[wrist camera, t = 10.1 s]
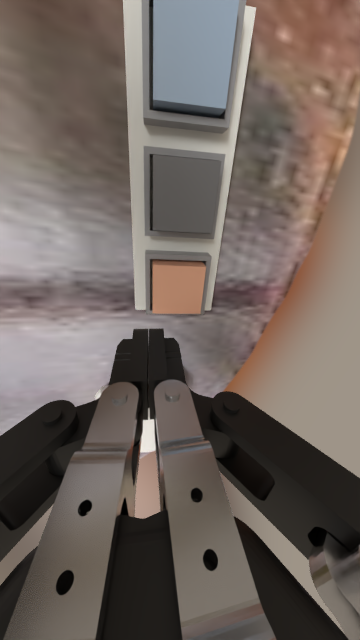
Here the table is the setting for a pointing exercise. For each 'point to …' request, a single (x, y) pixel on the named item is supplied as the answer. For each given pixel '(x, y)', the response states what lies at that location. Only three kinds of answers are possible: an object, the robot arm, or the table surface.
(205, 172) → the charcoal key
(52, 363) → the table surface
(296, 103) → the table surface
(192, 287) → the terracotta key
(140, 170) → the key panel
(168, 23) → the slate key
